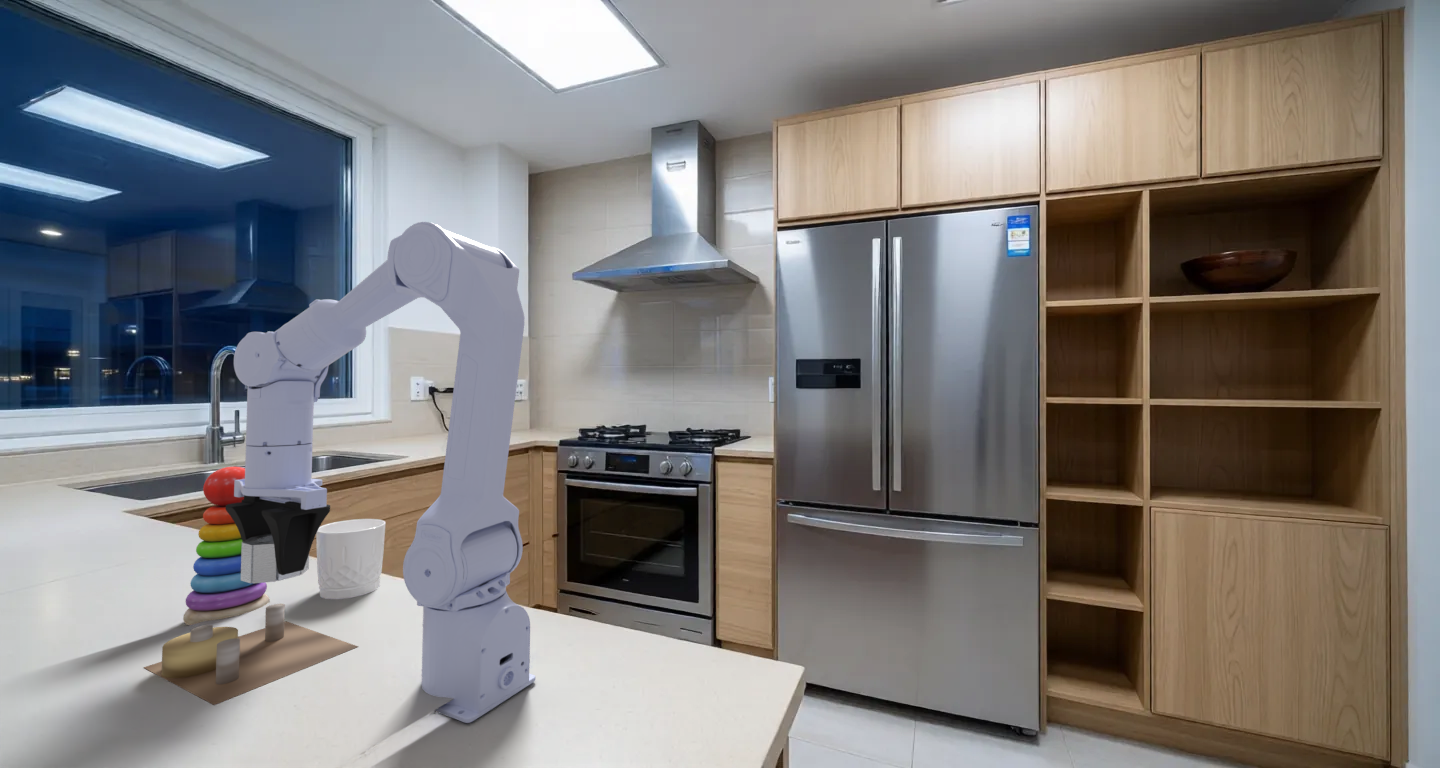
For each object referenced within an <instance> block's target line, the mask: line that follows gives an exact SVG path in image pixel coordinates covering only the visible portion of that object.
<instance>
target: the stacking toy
mask: <svg viewBox="0 0 1440 768" xmlns="http://www.w3.org/2000/svg"><path fill="white" fill-rule="evenodd" d="M240 479H245V467H242V466H226V467H222V468H219V469H217V470H215V471H213V472H212V473H211V474H210V475H209V476H207V478H206V479H205V481H204V484H203V487H202V489H203V494H204V497H205V498H206V500H207V501H208V502H209V503H211V504H212V505H214V506H210V507H208V508H206V510H204V512H203V514H202V519H203V521H204V522H205V523H207V524H204V525H203V526H202V527H201V528H199V530H198V537H199V539H200V540H202V541H201V542H199V543H198V545H197V546H196V548H195V552H196V554H197V556H199V557H198V558H197V559H196V560H195V561H194V563H193V567H192V568H193V571H194V572H195V575H194V576H193V577H192V578H191V580H190V588H191V590H192V591H190V592H189V593H188V595H187V596H186V598H185V605H186V607H187V609H186V611H185V612H184V613H183V618H182V620H183V622H184V623H185V624H186V625H187V626H192V625H195V624H199V623H203V622H206V621H207V622H208V621H217V620H222V619H227V618H234V617H236V616H240V615H244V614H247V613H250V612H253V611H256V610H258V609H260V608H263V607H264V606H266V605H268V604H269V603H270V602H271V601H270V597H269V596H268V595H267V594H266V592H267V588H268V585H267V582H264V583H247V582H244V581H241V550H242V542H243V541H242V538H241V535H240V533H239V530H238V528H237V526H236V524H235V522H234V520H233V519H232V517H231V516H230V515H229V513H228V512H227V511H226V505H228V504H233V503H240V502H242V500H244V497H234V482H235V480H240Z"/></svg>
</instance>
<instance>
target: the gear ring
mask: <svg viewBox="0 0 1440 768" xmlns="http://www.w3.org/2000/svg"><path fill="white" fill-rule="evenodd" d="M309 568H310V554H309V555H308V558H307V562H306V565H305V567H304V570H301V571H297V572H293V573H289V574H285V575H280V574H279V572H278V570H277V566H276V558H275V548H274V542H273V537H272V534H271V533H270V534H265V535H260V536H255V537H251V538H249V539H247V540H245V541H243V542H242V550H241V581H244V582H247V583H264V582H266V583H273V582H274V583H275V582H281V581H284V580H288V579H291V578H296V577H298V576H302V575H303V574H304V573H306V572H307V571H308V570H310V569H309Z"/></svg>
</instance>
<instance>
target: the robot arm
mask: <svg viewBox="0 0 1440 768" xmlns="http://www.w3.org/2000/svg"><path fill="white" fill-rule="evenodd" d="M519 277H520V269H519V267H518V266H517V265H516V264H515V263H514V262H513V261H512V260H511V259H510V258H509V256H507V255H506V253H505V252H504V251H503V250H501V249H499V248H497V247H494V246H490V245H485V244H483V243H480V242H478V241H475V240H472V239H470V238H468V237H465V236H462V235H460V234H456V233H454V232H452V231H449V230H446V229H444V228H442V227H441V226H440V225H438V224H435V223H433V222H431V221H430V222H429V221H420V222H416V223H413V224H412V225H410V226H409V227H408V228H406V229H405V230H404V231H403V232H402V234H401V235H399V236H396V237H394V238H393V239H392V240H390V243H389V247H388V251H387V259H386V260H385V261H384V262H383V263H382V264H380V266H378V267H377V268H375V269H374V271H372V272H371V273H370V274H369V275H367V277H365V278H364V279H363V280H361V282H360V283H358V284H357V285H356V286H355V287H353V288H352V289H351V290H350V291H349V292H348V293H347V294H345V295H344V296H343V297H342V298H341V299H340V300H335V299H332V298H331V299H329V298H327V299H326V298H325V299H316V298H315V300H313V301H312V302H311V303H309V305H308V306H309V307H307V308H306V309H305V310H304V311H302V312H300V313H299V314H298V315H296V316H295V317H293V318H292V319H290V320H289V321H288V322H285V323H284V324H283V325H282V326H281V327H279V328H278V329H276V330H275V331H270V330H269V331H268V330H267V332H262V331H251V332H248V333H246V335H245V336H244V337H243V338H242V339H241V340H240V341H239V342H238V344H237V345H236V348H235V352H234V355H233V369H234V372H235V375H236V377H237V379H238V380H239V381H240V383H242V384H243V385H245V386H247V391H246V392H247V393H246V394H247V396H246V397H247V399H246V427H245V431H246V432H245V458H244V459H245V460H244V468H245V479H240V480H235V482H234V497H244V500H242V502H240V503H233V504H228V505H226V511H227V512H228V513H229V515H230V516H231V517H232V519H233V520H234V522H235V524H236V526H237V528H238V530H239V533H240V535H241V538H242V541H245V540H247V539H249V538H251V537H255V536H260V535H265V534H270V533H271V534H272V537H273V542H274V548H275V558H276V566H277V570H278V572H279V574H280V575H285V574H289V573H293V572H297V571H301V570H304V567H305V565H306V562H307V558H308V555H309V556H310V551H311V548H312V545H313V543H314V539H315V537H316V533H317V531H318V529H319V527H320V526H322V524H323V522H324V520H325V519H326V517H327V516H328V514H329V513H330V512H331V505H330V504H327V502H328V501H327V500H328V499H327V498H328V489H327V488H326V487H321V486H323V479H321V478H312V477H313V476H312V474H313V473H312V472H313V470H312V469H313V443H314V442H313V441H314V438H313V437H314V406H315V405H314V404H315V403H317V402H318V401H319V400H318V399H319V398H321V397H320V394H321V386H322V384H323V382H324V381H325V379H326V377H327V375H328V372H329V366H330V365H331V364H333V363H334V362H336V361H337V360H339V359H340V358H342V357H343V356H345V355H346V354H348V353H349V352H350V351H352V350H354V349H355V348H357V347H358V346H360V345H361V344H363V342H364V341H365V339H366V337H367V327H369V326H370V325H372V324H374V323H376V322H378V321H379V320H381V319H383V318H385V317H387V316H388V315H390V314H391V313H393V312H396V311H397V310H399V309H401V308H403V307H404V306H407V305H408V304H410V303H412V302H413V301H415V300H417V299H419V298H420V299H421V298H424V299H426V300H428V301H430V302H431V303H433V304H435V305H436V306H438V307H440V308H441V310H442V311H443V312H444V313H445V315H446V316H447V317H448V318H449V319H450V320H451V321H452V322H453V323H454V324H455V326H456V327H457V328H458V330H459V332H460V334H459V343H458V351H457V358H456V359H457V360H456V367H455V374H454V375H455V377H454V382H453V383H454V384H453V392H452V400H451V408H450V414H449V415H450V416H449V424H448V425H449V426H448V433H447V438H446V439H447V442H446V446H445V447H446V449H445V456H444V457H445V458H444V464H443V473H442V479H441V480H442V481H441V489H440V494H439V496H438V497H437V499H436V500H435V501H434V502H433V503H432V504H431V505H430V506H429V507H428V508H427V510H425V511H424V512H423V514H422V515H421V516H420V517H419V519H418V520H417V522H416V528H415V534H414V538H413V540H412V542H411V544H410V546H409V547H408V549H407V550H406V553H405V556H404V559H403V563H402V575H403V582H404V584H405V586H406V588H407V590H408V592H409V594H410V596H411V597H412V598H413V599H414V600H415V601H416V605H417V606H418V607H419V606H420V607H423V608H422V612H423V613H422V642H421V643H422V646H421V647H422V650H421V651H422V653H421V655H422V656H421V688H422V690H423V691H424V693H426V694H427V695H431V696H433V697H438V698H447V699H451V700H450V701H448V702H446V703H444V704H442V705H441V706H439V707H437V708H436V709H434V710H433V711H435V712H438V713H440V714H442V715H445V716H447V717H450V718H452V719H455V720H456V721H457V720H458V721H460V722H462V723H464V724H470V723H473V722H474V721H476V720H477V719H479V718H480V717H482V716H483V715H485V714H486V713H488V712H490V711H491V710H493V709H494V708H496V707H498V706H499V705H500V704H502V703H504V702H505V701H507V700H509V698H511V697H513V696H514V695H516V694H518V693H519V692H521V691H522V690H524V689H525V688H526V687H528V686H530V685H531V684H534V682H536V675H535V674H532V673H530V662H531V661H530V657H531V656H530V655H531V654H530V653H531V647H530V646H531V619H530V616H529V614H528V612H527V610H526V609H525V608H524V607H523V606H521V605H519V604H517V603H516V602H514V601H513V600H512V599H511V597H509V594H508V592H507V586H508V585H510V583H511V573H513V571H515V569H517V567H518V565H519V564H520V562H521V559H522V556H523V546H524V545H523V539H522V535H521V532H520V528H519V516H520V509H519V508H518V507H517V506H516V505H514V504H513V503H512V502H511V501H510V500H508V499H507V498H506V497H505V496H504V492H505V483H506V482H505V481H506V475H507V469H508V468H507V467H508V459H509V450H510V445H511V435H512V427H513V419H514V411H515V404H516V403H515V402H516V395H517V394H516V393H517V386H518V380H519V379H518V378H519V370H520V364H521V363H520V362H521V355H522V349H523V339H524V331H525V314H524V309H523V306H522V301H521V298H520V295H519V291H518V284H519Z"/></svg>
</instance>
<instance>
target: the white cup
mask: <svg viewBox="0 0 1440 768" xmlns="http://www.w3.org/2000/svg"><path fill="white" fill-rule="evenodd" d="M385 534H386V520H383V519H378V518H359V519H358V518H355V519H348V520H341V521H335V522H330V523H326V524H323V525H320V527H319V529H318V531H317V533H316V535H315V537H316V539H315V541H316V570H317V583H318V585H319V587H318V588H319V597H320V598H322V599H324V600H342V599H351V598H357V597H361V596H365V595H367V594H369V593H371V592H375V591H376V590H377V589H379V587H380V586H381V585H380V584H381V575H382V573H383V572H382V571H383V559H384V551H385V550H384V548H385V536H386V535H385Z"/></svg>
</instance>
